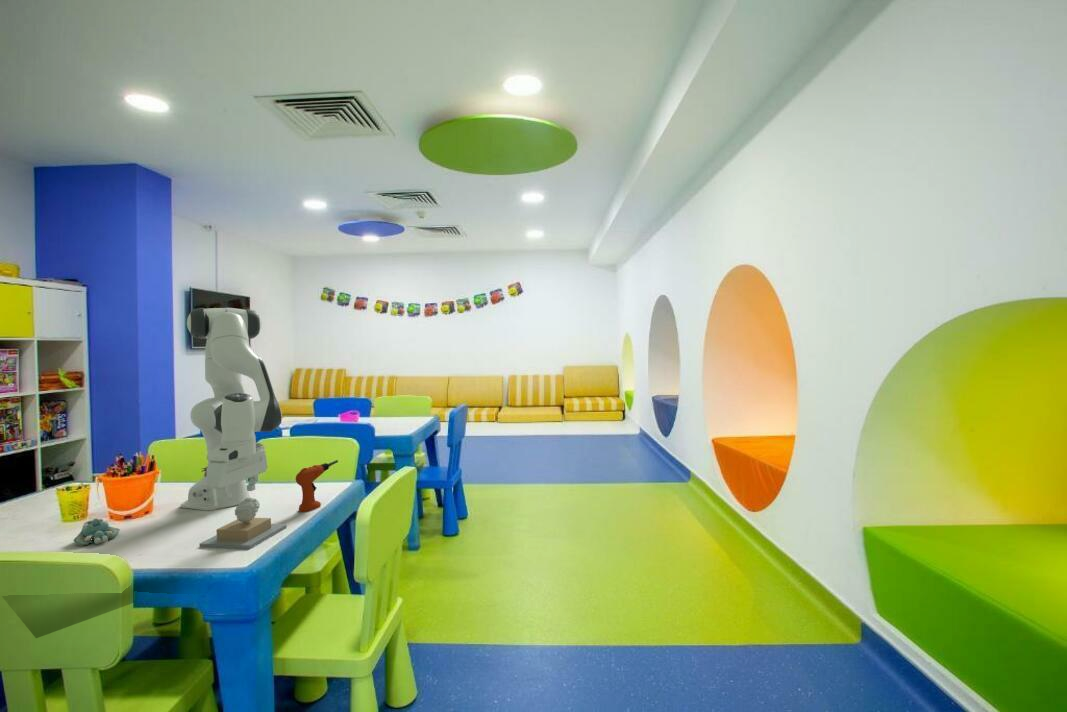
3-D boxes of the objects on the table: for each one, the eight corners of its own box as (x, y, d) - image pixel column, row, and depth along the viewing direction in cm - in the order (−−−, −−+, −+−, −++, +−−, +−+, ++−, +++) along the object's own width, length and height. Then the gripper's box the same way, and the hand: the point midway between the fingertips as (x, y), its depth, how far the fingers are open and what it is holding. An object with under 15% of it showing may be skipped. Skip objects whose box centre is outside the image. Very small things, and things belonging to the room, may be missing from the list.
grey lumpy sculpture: (263, 520, 154) (265, 496, 154) (244, 526, 147) (246, 502, 148) (247, 517, 156) (249, 494, 156) (228, 523, 149) (229, 499, 149)
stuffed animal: (76, 533, 143) (68, 517, 151) (77, 557, 144) (69, 539, 152) (124, 522, 152) (114, 507, 159) (124, 544, 153) (115, 528, 160)
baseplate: (199, 547, 144) (198, 533, 144) (240, 526, 160) (239, 513, 160) (250, 548, 142) (249, 534, 142) (286, 527, 158) (285, 514, 157)
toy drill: (347, 492, 188) (341, 453, 186) (306, 515, 171) (299, 473, 169) (337, 491, 190) (331, 452, 188) (295, 513, 173) (289, 471, 171)
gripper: (254, 441, 161) (255, 484, 161) (201, 456, 141) (202, 505, 141) (272, 442, 160) (272, 485, 160) (221, 457, 139) (222, 506, 140)
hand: (239, 495), depth 150 cm, fingers open, 8 cm apart
